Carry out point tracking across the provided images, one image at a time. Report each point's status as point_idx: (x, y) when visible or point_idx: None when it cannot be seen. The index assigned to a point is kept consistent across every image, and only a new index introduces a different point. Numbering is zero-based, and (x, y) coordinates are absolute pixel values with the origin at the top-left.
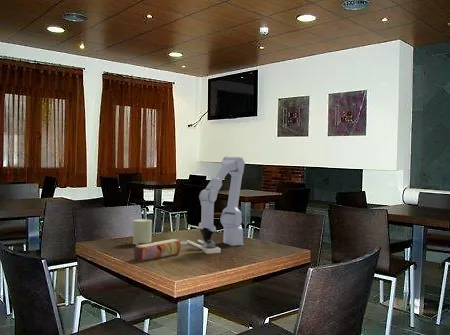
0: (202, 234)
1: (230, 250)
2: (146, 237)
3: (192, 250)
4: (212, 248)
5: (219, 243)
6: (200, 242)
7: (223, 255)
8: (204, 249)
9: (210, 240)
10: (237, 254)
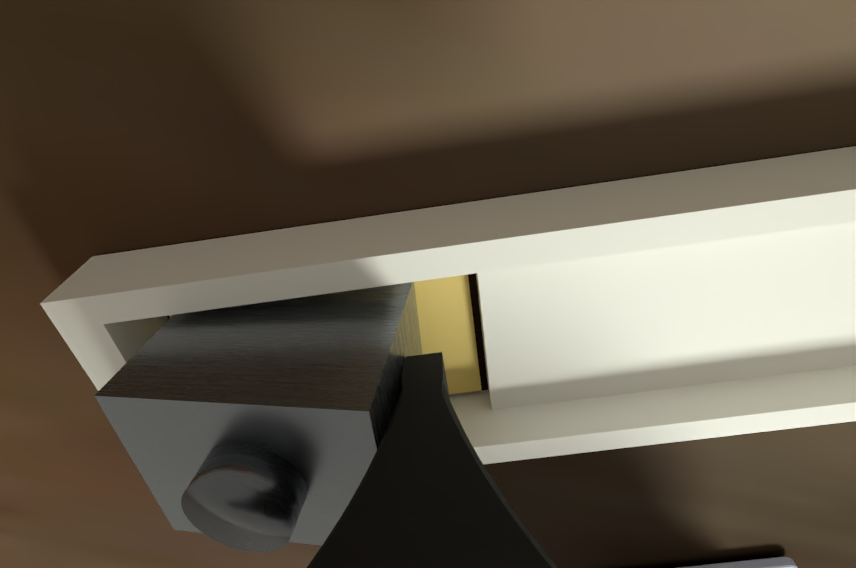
0: (477, 544)
1: None
2: None
3: (470, 50)
4: None
5: (810, 549)
6: None
7: (2, 434)
8: (195, 268)
9: (195, 519)
10: (100, 560)
